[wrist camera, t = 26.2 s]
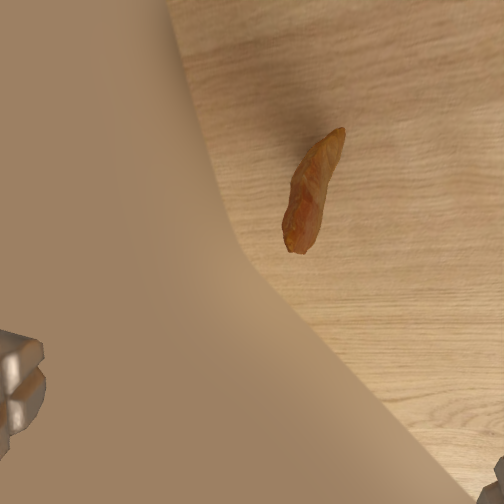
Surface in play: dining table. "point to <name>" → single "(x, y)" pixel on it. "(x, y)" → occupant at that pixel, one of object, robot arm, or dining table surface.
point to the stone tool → (311, 192)
